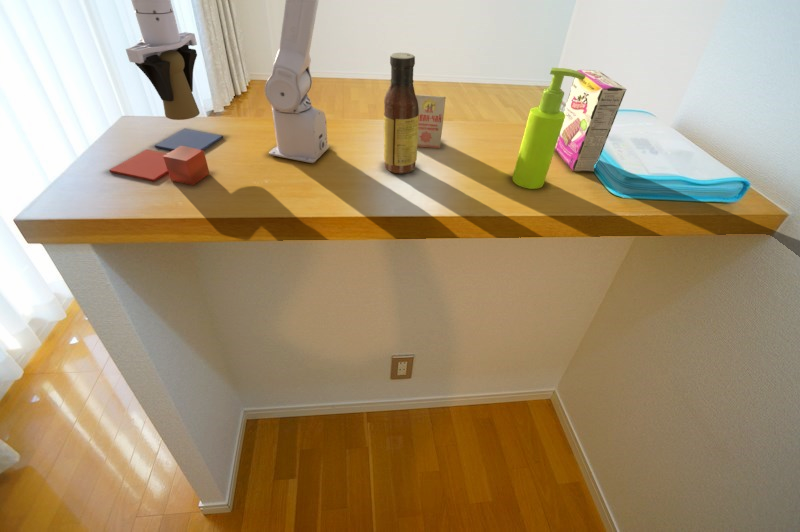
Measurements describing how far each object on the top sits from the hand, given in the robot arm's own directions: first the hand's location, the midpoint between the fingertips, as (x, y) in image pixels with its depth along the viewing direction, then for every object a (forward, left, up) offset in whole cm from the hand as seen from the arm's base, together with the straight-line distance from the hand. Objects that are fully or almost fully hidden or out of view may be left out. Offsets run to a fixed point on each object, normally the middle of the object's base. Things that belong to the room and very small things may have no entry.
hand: (177, 95), depth 77 cm
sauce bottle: (-42, -6, -9) cm, 43 cm away
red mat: (0, +11, -9) cm, 14 cm away
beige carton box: (-44, -19, -9) cm, 48 cm away
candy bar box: (-75, -23, -9) cm, 79 cm away
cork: (0, 0, -4) cm, 4 cm away
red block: (-9, +12, -9) cm, 17 cm away
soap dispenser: (-67, -10, -9) cm, 68 cm away
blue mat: (0, 0, -9) cm, 9 cm away
